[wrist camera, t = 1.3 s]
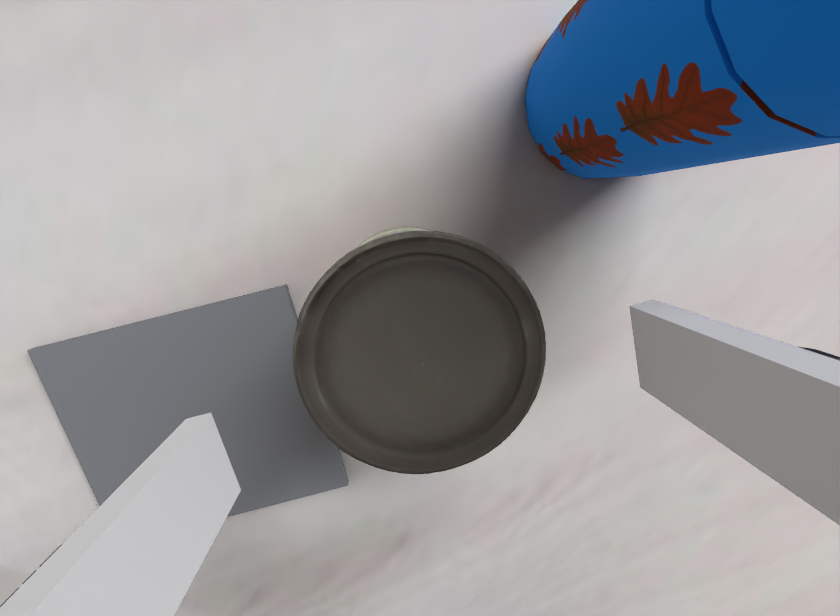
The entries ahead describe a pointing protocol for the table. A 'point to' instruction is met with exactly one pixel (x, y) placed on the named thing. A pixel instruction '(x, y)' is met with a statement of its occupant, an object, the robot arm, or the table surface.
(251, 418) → the placemat
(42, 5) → the table surface
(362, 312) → the coffee can
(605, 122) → the thermos
